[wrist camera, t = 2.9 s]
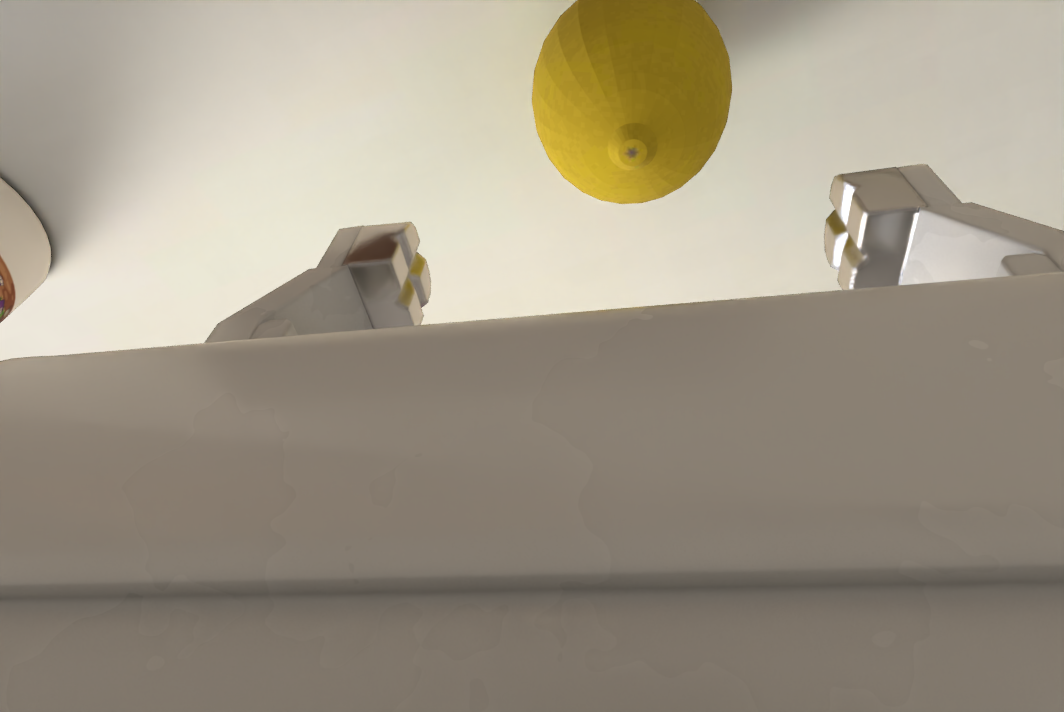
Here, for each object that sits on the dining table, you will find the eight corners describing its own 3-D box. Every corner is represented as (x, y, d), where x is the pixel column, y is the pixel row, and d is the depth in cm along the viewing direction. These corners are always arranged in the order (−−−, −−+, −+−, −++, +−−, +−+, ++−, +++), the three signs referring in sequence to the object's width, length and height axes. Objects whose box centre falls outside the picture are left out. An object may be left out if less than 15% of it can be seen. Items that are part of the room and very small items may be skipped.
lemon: (701, -74, 19) (742, -5, 13) (721, 109, 22) (760, 229, 17) (522, -17, 20) (485, 69, 15) (567, 147, 24) (552, 270, 18)
